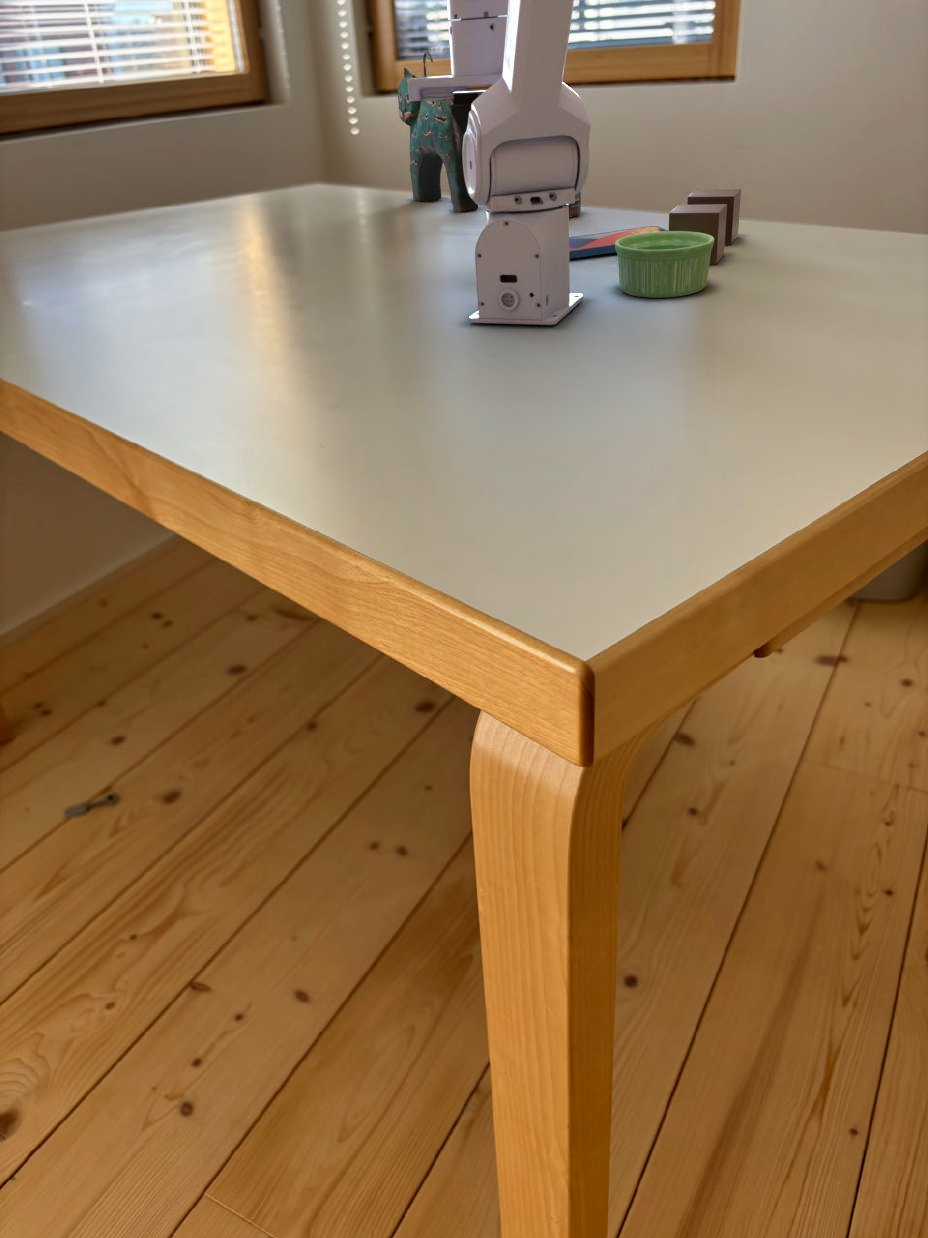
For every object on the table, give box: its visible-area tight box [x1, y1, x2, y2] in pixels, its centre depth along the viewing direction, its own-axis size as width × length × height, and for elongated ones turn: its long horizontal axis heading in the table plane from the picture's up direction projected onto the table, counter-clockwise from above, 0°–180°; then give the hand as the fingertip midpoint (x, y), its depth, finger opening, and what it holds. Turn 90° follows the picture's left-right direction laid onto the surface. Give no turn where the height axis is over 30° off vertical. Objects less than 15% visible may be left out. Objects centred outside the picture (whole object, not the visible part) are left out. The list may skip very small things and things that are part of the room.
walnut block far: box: [686, 188, 742, 246], centre depth 110 cm, size 5×5×5 cm
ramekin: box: [615, 231, 714, 299], centre depth 93 cm, size 9×9×4 cm
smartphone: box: [569, 225, 669, 260], centre depth 111 cm, size 7×15×1 cm, turn 104°
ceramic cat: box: [397, 50, 479, 213], centre depth 144 cm, size 20×6×20 cm, turn 24°
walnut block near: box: [668, 204, 727, 266], centre depth 103 cm, size 5×5×5 cm
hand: (487, 180), depth 98 cm, fingers closed
